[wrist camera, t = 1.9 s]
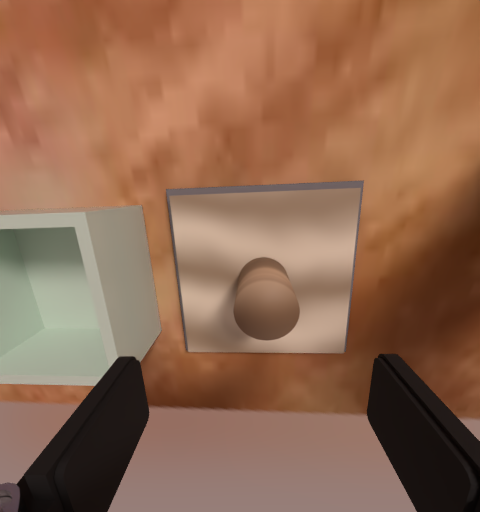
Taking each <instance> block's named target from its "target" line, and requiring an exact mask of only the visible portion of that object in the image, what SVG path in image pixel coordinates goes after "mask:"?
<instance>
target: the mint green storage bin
mask: <svg viewBox="0 0 480 512" xmlns="http://www.w3.org/2000/svg"><path fill="white" fill-rule="evenodd" d="M161 331H162V330H161V324H160V318H159V311H158V305H157V298H156V292H155V286H154V279H153V273H152V267H151V260H150V254H149V248H148V241H147V235H146V228H145V222H144V216H143V209H142V205H130V206H105V207H79V208H53V209H28V210H5V211H0V384H42V385H88V386H95V385H96V384H97V383H98V382H99V380H100V379H101V378H102V377H103V375H104V374H105V373H106V372H107V371H108V369H109V368H110V367H111V366H112V364H113V363H114V362H115V361H116V359H117V358H118V357H120V356H134V357H135V358H136V360H139V361H140V362H141V361H142V359H143V358H144V356H145V355H146V353H147V352H148V350H149V349H150V347H151V346H152V344H153V343H154V341H155V340H156V338H157V337H158V335H159V334H160V332H161Z"/></svg>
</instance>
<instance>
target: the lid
mask: <svg viewBox="0 0 480 512" xmlns="http://www.w3.org/2000/svg"><path fill="white" fill-rule="evenodd" d="M360 192H361V188H345V189H321V190H297V191H273V192H249V193H225V194H201V195H177V196H169V198H170V206H171V214H172V222H173V230H174V238H175V247H176V255H177V263H178V271H179V279H180V287H181V295H182V304H183V312H184V320H185V328H186V336H187V344H188V352H255V353H344V347H345V337H346V328H347V318H348V308H349V299H350V289H351V279H352V270H353V260H354V250H355V241H356V231H357V221H358V212H359V202H360Z"/></svg>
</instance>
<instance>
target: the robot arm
mask: <svg viewBox="0 0 480 512" xmlns="http://www.w3.org/2000/svg"><path fill="white" fill-rule="evenodd" d="M367 416H368V420H369V422H370V424H371V426H372V428H373V430H374V432H375V434H376V436H377V437H378V440H379V441H380V443H381V445H382V447H383V449H384V451H385V452H386V455H387V456H388V458H389V460H390V462H391V464H392V465H393V468H394V469H395V471H396V473H397V475H398V477H399V479H400V481H401V483H402V484H403V486H404V488H405V490H406V492H407V494H408V496H409V498H410V499H411V501H412V503H413V505H414V507H415V509H416V511H417V512H480V441H479V440H478V439H477V438H476V437H475V436H474V435H473V434H472V433H471V432H470V431H469V430H468V429H467V427H465V425H464V424H463V423H462V422H461V421H460V420H459V419H458V418H457V417H456V416H455V415H454V414H453V413H452V412H451V410H450V409H449V408H448V407H447V406H446V405H445V404H444V403H443V402H442V401H441V400H440V399H439V398H438V397H437V396H436V395H435V393H434V392H433V391H432V390H431V389H430V388H429V387H428V386H427V385H426V384H425V383H424V382H423V381H422V380H421V379H420V378H419V376H418V375H417V374H416V373H415V372H414V371H413V370H412V369H411V368H410V367H409V366H408V365H407V364H406V363H405V362H404V361H403V359H402V358H401V357H400V356H399V355H397V354H379V356H378V358H375V359H374V364H373V372H372V379H371V386H370V393H369V401H368V408H367ZM148 418H149V408H148V403H147V397H146V392H145V386H144V381H143V376H142V370H141V365H140V361H139V360H136V358H135V357H134V356H120V357H118V358H117V359H116V361H115V362H114V363H113V364H112V366H111V367H110V368H109V369H108V371H107V372H106V373H105V374H104V375H103V377H102V378H101V379H100V380H99V382H98V383H97V384H96V385H95V387H94V388H93V389H92V390H91V392H90V393H89V394H88V395H87V397H86V398H85V399H84V400H83V402H82V403H81V404H80V405H79V407H78V408H77V409H76V410H75V412H74V413H73V414H72V415H71V417H70V418H69V419H68V420H67V422H66V423H65V424H64V425H63V427H62V428H61V429H60V430H59V432H58V433H57V434H56V435H55V437H54V438H53V439H52V440H51V441H50V443H49V444H48V445H47V446H46V448H45V449H44V450H43V451H42V453H41V454H40V455H39V457H38V458H37V459H36V460H35V461H34V463H33V464H32V465H31V466H30V468H29V469H28V470H27V471H26V473H25V474H24V476H23V477H22V478H21V479H20V481H19V482H18V483H17V484H14V483H4V484H0V512H107V511H108V509H109V507H110V505H111V502H112V500H113V498H114V495H115V493H116V491H117V489H118V487H119V485H120V482H121V480H122V478H123V475H124V473H125V471H126V469H127V467H128V464H129V462H130V460H131V458H132V455H133V453H134V451H135V449H136V446H137V444H138V442H139V439H140V437H141V435H142V433H143V431H144V428H145V426H146V424H147V421H148Z"/></svg>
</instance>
